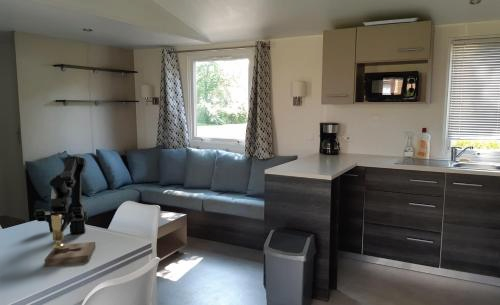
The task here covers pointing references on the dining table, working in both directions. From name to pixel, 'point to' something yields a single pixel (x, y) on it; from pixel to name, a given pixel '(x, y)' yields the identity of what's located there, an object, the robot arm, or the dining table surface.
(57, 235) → the peg
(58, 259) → the keyhole board
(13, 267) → the dining table surface
